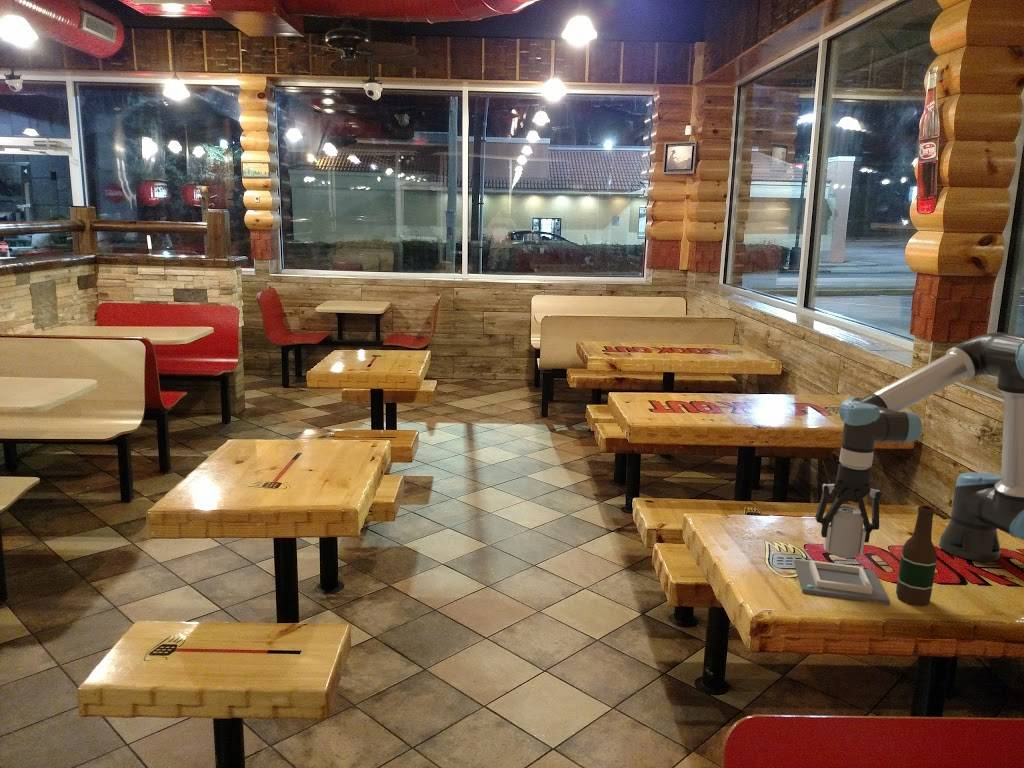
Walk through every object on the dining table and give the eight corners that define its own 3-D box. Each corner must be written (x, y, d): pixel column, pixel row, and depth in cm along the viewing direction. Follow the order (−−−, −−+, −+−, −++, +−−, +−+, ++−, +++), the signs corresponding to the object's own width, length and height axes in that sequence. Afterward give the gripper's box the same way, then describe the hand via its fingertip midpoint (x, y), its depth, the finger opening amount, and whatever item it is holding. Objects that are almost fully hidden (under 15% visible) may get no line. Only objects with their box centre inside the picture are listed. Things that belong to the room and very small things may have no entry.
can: (852, 549, 201) (859, 505, 198) (862, 561, 194) (869, 515, 191) (822, 546, 202) (829, 502, 199) (831, 558, 194) (838, 513, 192)
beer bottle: (888, 592, 195) (902, 501, 190) (917, 592, 196) (932, 501, 191) (906, 606, 188) (921, 513, 183) (936, 606, 188) (952, 513, 184)
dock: (873, 573, 206) (874, 564, 205) (889, 604, 188) (890, 595, 188) (793, 563, 210) (794, 554, 209) (802, 592, 193) (803, 583, 192)
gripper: (895, 465, 194) (882, 551, 199) (809, 456, 199) (798, 540, 203) (903, 474, 187) (889, 562, 192) (814, 464, 191) (802, 551, 196)
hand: (842, 551), depth 197 cm, fingers closed on can, 7 cm apart
